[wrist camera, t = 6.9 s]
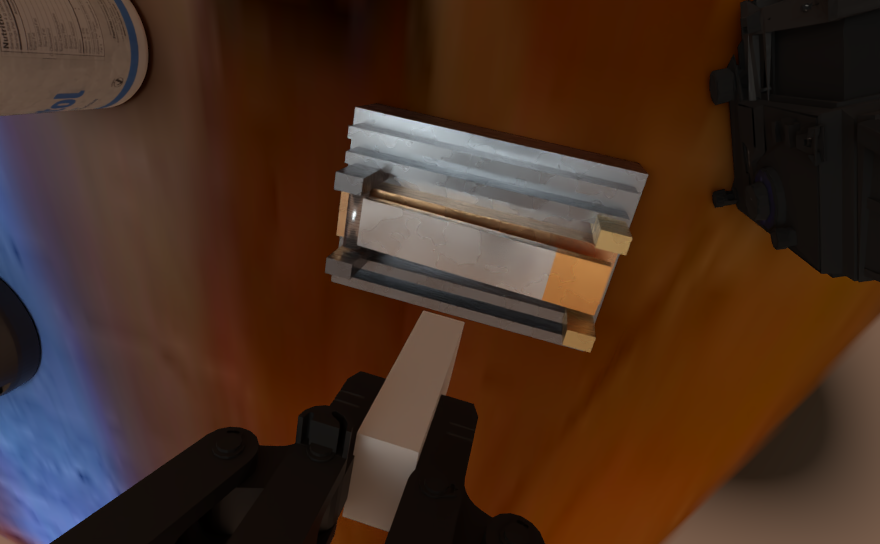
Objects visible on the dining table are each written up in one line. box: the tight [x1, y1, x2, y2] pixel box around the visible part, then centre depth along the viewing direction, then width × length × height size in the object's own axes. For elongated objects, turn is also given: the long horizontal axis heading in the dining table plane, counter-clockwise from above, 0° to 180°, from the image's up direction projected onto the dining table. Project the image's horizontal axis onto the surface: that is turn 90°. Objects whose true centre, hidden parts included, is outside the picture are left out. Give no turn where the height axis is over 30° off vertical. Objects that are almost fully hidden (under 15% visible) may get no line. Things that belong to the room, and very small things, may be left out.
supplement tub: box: [0, 0, 148, 116], centre depth 31 cm, size 10×10×15 cm
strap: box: [343, 191, 612, 315], centre depth 30 cm, size 16×4×1 cm, turn 79°
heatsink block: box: [325, 103, 648, 352], centre depth 32 cm, size 18×12×9 cm, turn 79°
